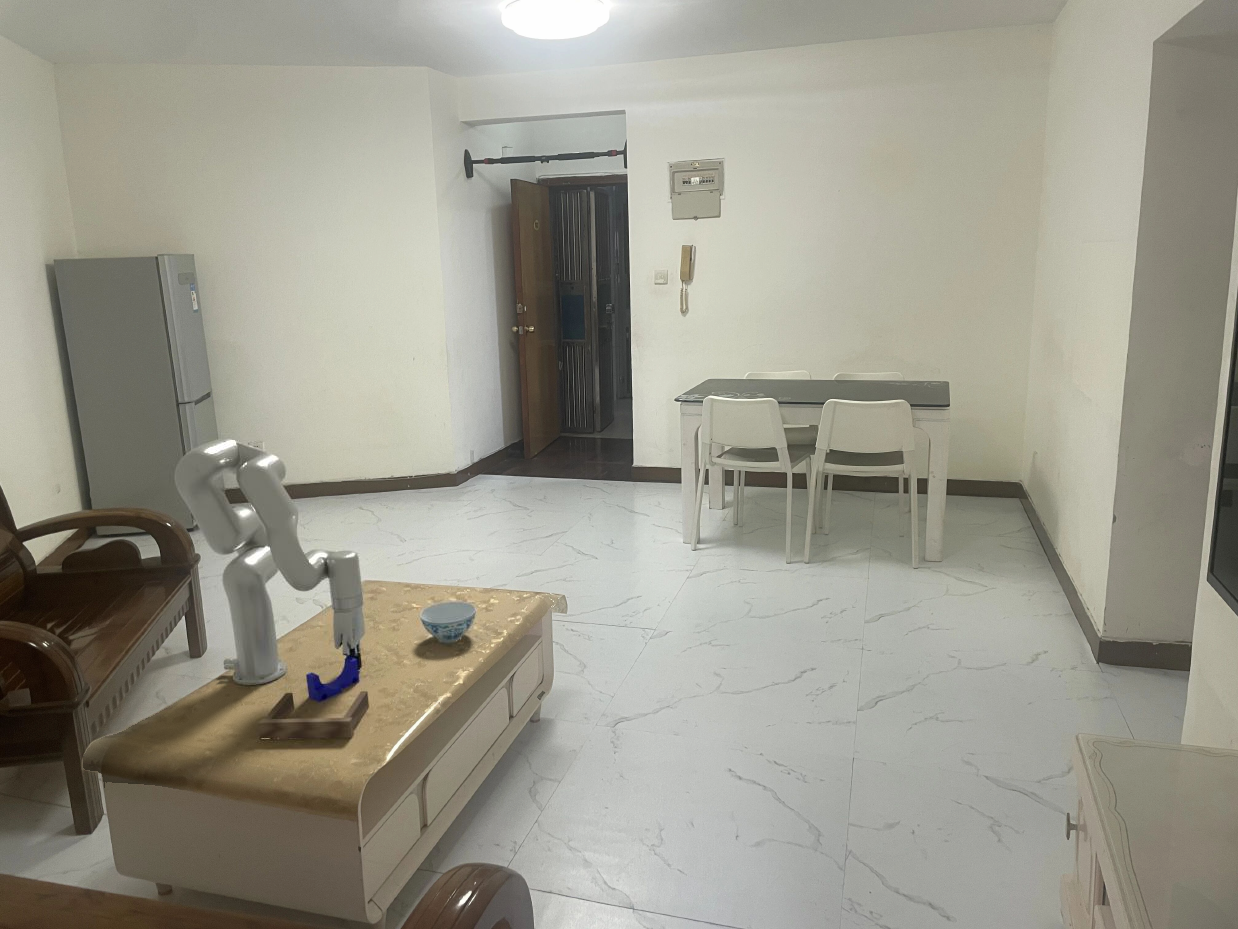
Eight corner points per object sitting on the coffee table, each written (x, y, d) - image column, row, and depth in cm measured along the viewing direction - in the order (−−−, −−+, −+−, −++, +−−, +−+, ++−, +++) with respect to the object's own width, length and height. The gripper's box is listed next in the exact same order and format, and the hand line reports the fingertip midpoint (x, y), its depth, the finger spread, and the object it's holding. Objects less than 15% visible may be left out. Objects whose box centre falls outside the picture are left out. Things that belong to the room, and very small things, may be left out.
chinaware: (472, 649, 225) (470, 621, 223) (416, 650, 225) (413, 623, 224) (482, 626, 240) (480, 600, 238) (429, 627, 240) (427, 602, 238)
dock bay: (260, 739, 183) (258, 722, 182) (285, 708, 196) (283, 692, 196) (351, 738, 183) (349, 721, 182) (371, 707, 196) (369, 691, 195)
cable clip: (319, 703, 199) (316, 679, 198) (309, 698, 202) (306, 674, 200) (363, 683, 208) (360, 661, 207) (352, 678, 211) (349, 656, 209)
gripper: (342, 590, 218) (349, 656, 222) (321, 612, 203) (329, 683, 207) (371, 589, 217) (378, 655, 221) (352, 611, 203) (360, 682, 207)
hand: (354, 668), depth 214 cm, fingers closed
